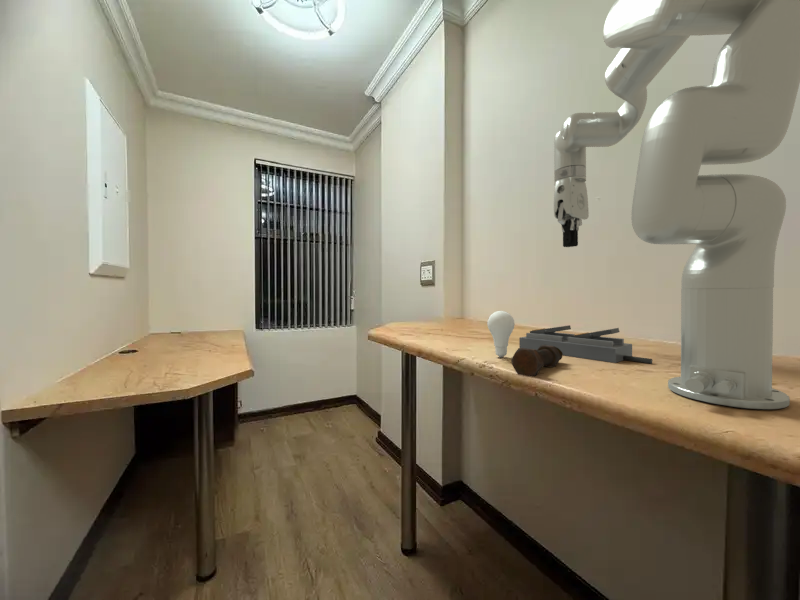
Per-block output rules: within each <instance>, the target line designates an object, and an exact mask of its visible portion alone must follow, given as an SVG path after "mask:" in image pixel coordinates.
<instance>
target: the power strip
mask: <svg viewBox="0 0 800 600" xmlns="http://www.w3.org/2000/svg"><path fill="white" fill-rule="evenodd" d="M525 335H526V336H522V337H519V339H518V340H519V341H518V343H519V348H527V349H536V350H537V349H538V348H539V347H540V345H550V346H555V347H557V348H559V349H560V350H561V351H562V353H563V355H562V356H566V357H572V358H580V359H586V360H593V361H599V362H600V361H601V362H605V363H606V362H607V363H613V364H614V363H615V364H617V363H620V362H622V361H627V362H629V361H630V362H637V363H643V364H653V358H649V357H640V356H633V344H632V343H628V342H627V343H626V342H625V339H624V338H619V337H611V336H610V337H609V336H608V337H607V336H600V337H596V338H574V337H571V336H574V335H576V334H575V333H566V332H558V331H556V332H554V333H549V334H545V333H541V334H535V333H530V332H526V334H525Z"/></svg>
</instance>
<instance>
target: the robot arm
mask: <svg viewBox="0 0 800 600" xmlns="http://www.w3.org/2000/svg"><path fill="white" fill-rule="evenodd" d="M605 18H606V19H605V21H604V23H603V29H602V39H603V42H604V44H605V45H606V46H607V47H608V48H610V49H619V50H618V51H617V53H616V55H615V56H614V58H613V59H612V60H611V62H610V63H609V65H608V66H607V68H606V70H605V73H604V82H605V84H606V88H607V89H608V90H610V92H611V93H612V94H614V95H615V96H617V97H618V98H620V99H622V100H623V101H624V102H623V103H622V104H621V105H620V107H618V108H617V109H616V111H612V112H611V111H610V112H609V111H607V112H606V111H601V112H598V111H596V112H595V111H594V112H576V113H573V114H570V115H569V116H568V117H567V118H566V119H565V121H564V122H563V124H562V126H561V129H560V130H559V131H558V132H556V134H555V135H554V141H553V154H554V155H553V156H554V162H553V165H554V166H553V170H554V176H553V177H554V180H553V181H554V190H553V191H554V193H553V216H554V218H555V219H557V222H558V223H559V224H560V225H561V231H562V247H564V248H574V247H578V245H579V233H578V232H579V230H580V229H579V228H580V227H581V226H582V225H583V222H582V220H587V219H588V218H589V214H590V212H589V198H588V190H587V185H586V184H587V183H586V181H587V148H601V147H602V148H605V147H611V146H614V145H616V144H618V143H620V142H621V141H622V140H623V139H625V137H627V135H629V133H630V132H631V131H632V130H634V128H635V127H636V126H637V125H638V123H639V122H640V121H641V118H642V116H643V114H644V111H645V109H646V104H647V101H648V89H647V87H648V86H649V85H650V83H651V82H652V81H653V80H654V79H655V78H656V76H657V75H658V74H659V73H660V71H661V70H663V68H664V67H665V66H666V64H667V63H668V62H669V61H670V60H671V59H672V58H673V56H674V55H675V54H676V53H677V51H679V49H680V48H681V47H682V46H683V45H684V44H685V43H686V41H687V40H688V39H689V38H690V36H697V37H698V36H700V37H701V36H716V35H717V36H719V35H720V36H721V35H729V36H728V38H727V40H726V41H725V42H724V44H723V45H722V47H721V48H720V50H719V52H718V54H717V56H716V58H715V60H714V64H713V68H712V73H711V80H710V84H709V85H694V86H690V87H685V88H682V89H680V90H678V91H676V92H674V93H672V94H670V95H668V97H666V98H664V100H663V101H662V102H661V103H660V104H659V105H658V106H657V107H656V109H655V110H654V111H653V113H652V115H651V117H650V118H649V121H648V122H647V124H646V126H645V128H644V133H643V135H642V139H641V144H640V150H639V157H638V163H637V171H636V178H635V184H634V190H633V196H632V203H631V204H632V205H631V225H632V230H633V232H634V233H635V235H636V236H637V238H639V239H640V240H642V241H643V242H645V243H648V244H651V245H652V244H653V245H695V247H694V249H693V251H692V252H691V254H690V256H689V257H688V259H687V261H686V263H685V265H684V267H683V270H682V273H681V288H680V289H681V290H680V376H675V377H671V378H670V379H668V381H667V386H668V387H667V388H668V389H669V390H670V391H672V392H674V393H675V394H678V395H679V396H683V397H686V398H689V399H691V400H696V401H700V402H704V403H708V404H714V405H720V406H727V407H731V408H733V407H734V408H741V409H748V410H749V409H751V410H778V409H780V410H781V409H784V408H787V407H789V406H790V404H791V403H790V396H789V395H788V394H786V393H785V392H783V391H781V390H778V389H775V388H773V343H774V342H773V341H774V340H773V338H774V337H773V336H774V335H773V334H774V333H773V331H774V327H773V325H774V324H773V323H774V286H775V260H776V253H777V252H776V251H777V245H778V240H779V236H780V234H781V233H780V232H781V229H782V226H783V223H784V219H785V216H786V209H787V199H786V195H785V193H784V191H783V189H782V188H781V187H780V185H778V183H776V182H774V181H773V180H772V179H769V178H767V177H764V176H761V175H760V176H759V175H755V174H741V173H740V174H737V173H734V174H733V173H730V174H728V173H726V174H724V173H722V174H721V173H720V174H706V175H705V174H702V175H701V174H699V173H700V170H701V166H703V165H704V166H707V165H710V166H711V165H714V166H715V165H736V164H738V165H739V164H745V163H751V162H754V161H758V160H761V159H763V158H765V157H767V156H768V155H770V154H772V153H773V152H774V151H775V150H776V149H777V148H778V147H779V146H780V145H781V144H782V142H783V141H784V139H785V136H786V134H787V132H788V129H789V127H790V122H791V119H792V115H793V112H794V108H795V103H796V99H797V96H798V91H799V87H800V0H615V1H614V3H613V4H612V6H611V7H610V9H609V12H608V13H607V15H606V17H605Z"/></svg>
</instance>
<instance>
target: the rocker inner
mask: <svg viewBox="0 0 800 600" xmlns="http://www.w3.org/2000/svg"><path fill="white" fill-rule="evenodd" d="M617 333H620V329H619V327H617V328H616V327H615V328H610V329H604V330H599V331H598V330H597V331H591V332H581V333H577V334H575V335H574V336H571V337H574V338H596V337H603V336H607V335H613V334H617Z"/></svg>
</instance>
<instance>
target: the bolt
mask: <svg viewBox="0 0 800 600" xmlns="http://www.w3.org/2000/svg"><path fill="white" fill-rule="evenodd" d="M563 356H564V355H563V353H562V351H561V350H560V349H559V348H557V347H555V346H550V345H540V347H539V348H538V349H537V350H536V349H527V348H520V347H519V348H517V349H516V350H515V352H514V354H513V356H512V357H511V361H510V362H511V365H512V367H513V369H514V371H515V373H516V374H517V375H520V376H525V377H537V375H538V374H539V372H540V371H541V369H542V368H543V367H548V368H553V367H556V366H557V365H558V363H559V362H560V361H561V360H562V359H563Z"/></svg>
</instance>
